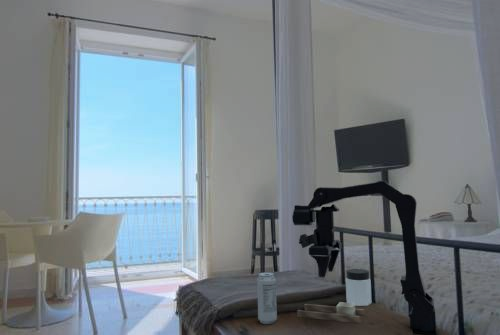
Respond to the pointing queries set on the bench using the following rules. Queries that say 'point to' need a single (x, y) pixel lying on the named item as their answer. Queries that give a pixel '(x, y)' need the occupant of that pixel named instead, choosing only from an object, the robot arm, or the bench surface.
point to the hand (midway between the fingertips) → (327, 274)
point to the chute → (329, 315)
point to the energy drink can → (267, 298)
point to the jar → (358, 287)
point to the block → (346, 308)
